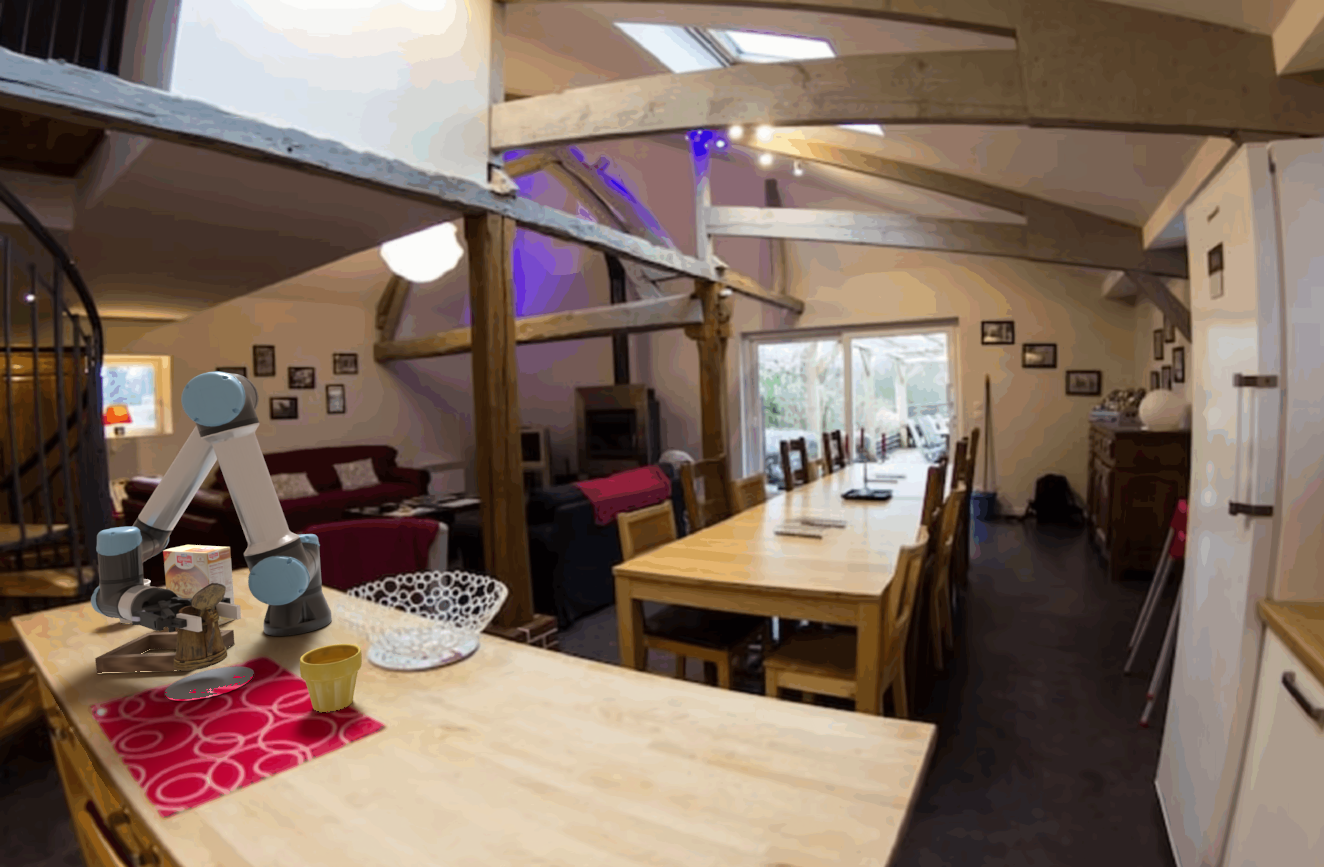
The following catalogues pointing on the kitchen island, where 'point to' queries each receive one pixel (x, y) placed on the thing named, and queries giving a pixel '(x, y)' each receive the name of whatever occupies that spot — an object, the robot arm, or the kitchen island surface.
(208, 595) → the wooden mug
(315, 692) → the plant pot
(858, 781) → the kitchen island surface
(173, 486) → the robot arm
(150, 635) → the frame
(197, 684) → the grey mat
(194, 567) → the coffeecake box
